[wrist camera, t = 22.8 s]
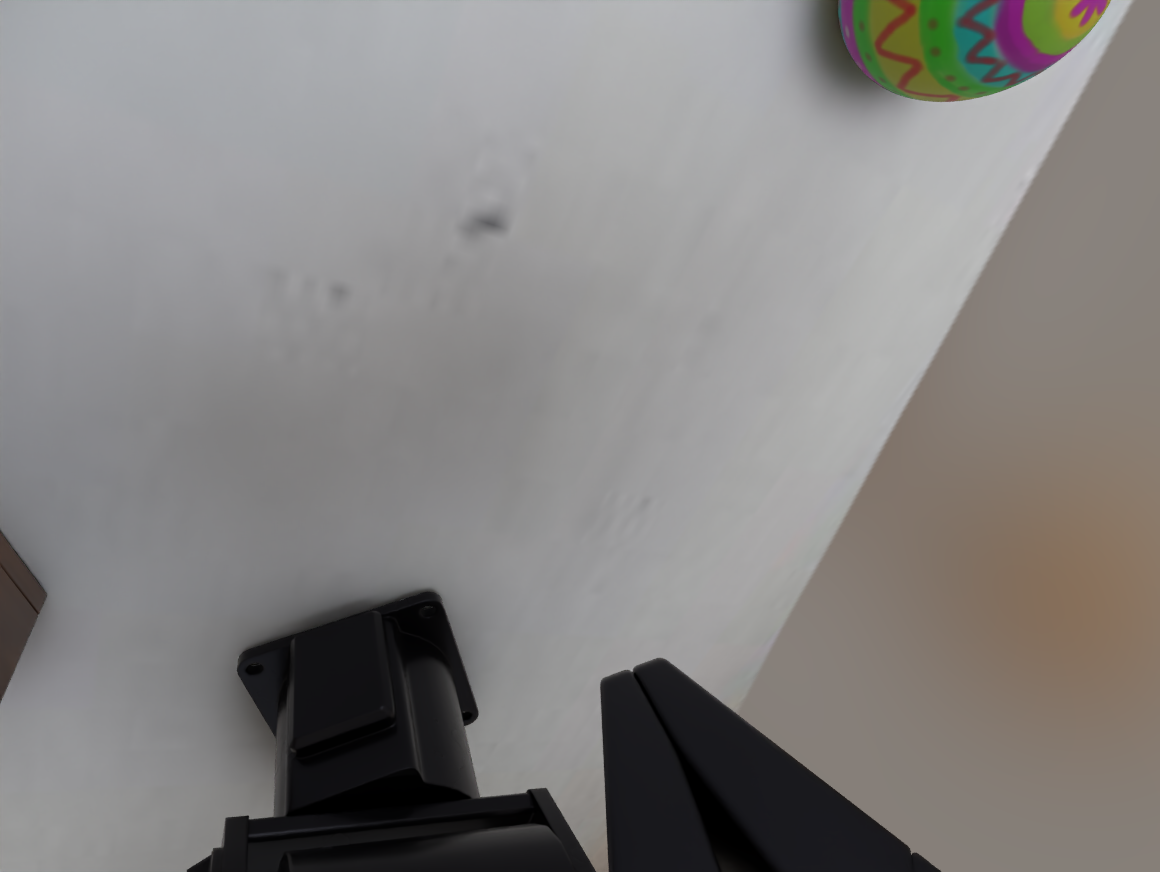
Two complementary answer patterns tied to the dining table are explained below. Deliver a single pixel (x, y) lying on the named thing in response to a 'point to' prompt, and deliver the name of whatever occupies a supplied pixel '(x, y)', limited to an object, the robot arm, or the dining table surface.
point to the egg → (961, 42)
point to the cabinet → (15, 610)
